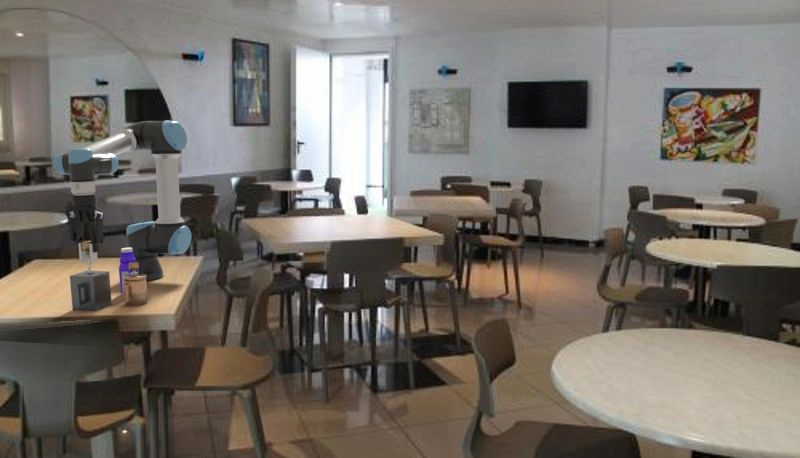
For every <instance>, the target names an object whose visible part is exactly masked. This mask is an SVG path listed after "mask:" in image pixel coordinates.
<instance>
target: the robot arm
mask: <svg viewBox="0 0 800 458" xmlns="http://www.w3.org/2000/svg"><path fill="white" fill-rule="evenodd" d="M187 144H188V136H187V133H186V130H185V128H184V126H183V125H182V124H181V123H180V122H178V121H175V120H168V119H167V120H145V121H144V120H143V121H140V122H136V123H133V124H130V125H128V126H126V127H123V128H120V129H118V130H117V132H116V133H115V134H113V135H110V136H108V137H105V138H104V139H102V140H99V141H96V142H94V143H92V144H90V145H86V146H84V147H82V148H71V149H69V150H68V153H66V152H63V153H59V154H56V155H55V157H54V158H53V162H52V163H53V168H54V170H55V171H56V172H57V174H60V175H66V176H70V190H71V191H70V192H71V194H72V195H71V203H72V204H71V205H72V207H73V209H72V211H69V212H66V213H65V215H66V218H67V220H68V228H69V235H70V241H71V242H75V243H76V251H77V253H78V254H79V255H78V256H79V263H83V262H86V261H87V252H86V251H82V241H85V239H84V237H85V235H84V234H85V224H86V225H87V230H88V233H89V237H90V241H91V242H90V244H89V246H90V263H95V262H98V253H99V249H100V248H99V242H102V241H104V217H105V212H100V211H98V209H97V208H96V206H97V198H96V194H95V193H96V184H95V183H96V182H95V176H101V175H111V174H114V173H116V172H117V171H118V169H119V165H120V164H119V159H118V157H117V156H119V155H121V154H123V153H132V152H134V151H145V150H146V151H147V150H148V151H150V154H151V156H152V157H153V158H154V159H155V175H156V176H155V177H156V194H157V195H156V196H157V212H158V213H157V215H158V216H157V217H158V218H157V219H156V220H155V221H154V220H153V221H152V220H151V221H145V222H139V223H134V224H130V225H127V227H126V235H125V237H126V246H127V247H126V248H132V249H133V255H134V257H135V259H136V260H135V262H138V265H139V269H138V274H145V275H146V277H147V278H146V282H147V281H153V280H157V279H158V280H159V279H161V278H163V277H164V270H163V268H162V264H161V262H160V260H159V256H158V254H160V255H161V254H162V255H163V254H165V255H181V254H184V253H185V252H187V250H188V249H189V247H190V245H191V241H192V232H191V230H190V229H191V228H189V227H188V226H187V225H185V224H186V223H185V222H186V221H185V220H184V219H183V217H182V216H181V201H180V197H181V196H180V181H179V180H180V178H179V160H178V159H179V158H180V156H181V155H182V151H183V150H184V149H185V148H186V145H187Z"/></svg>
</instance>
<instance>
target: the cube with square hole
mask: <svg viewBox="0 0 800 458" xmlns="http://www.w3.org/2000/svg"><path fill="white" fill-rule="evenodd" d="M69 283H70V293H71V308H72V311H86V312H89V311H90V312H97V311H99V310H102V309H104V308H107V307H109V306H111V305H112V304H113V303H112V294H111V293H112V291H111V279H110V271H107V270H91V274H88V270H84V271H81V272H77V273H75V274H72V275H69Z"/></svg>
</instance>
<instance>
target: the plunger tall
mask: <svg viewBox="0 0 800 458" xmlns="http://www.w3.org/2000/svg"><path fill="white" fill-rule="evenodd" d="M90 242H91V240H84V241H82V251H86V256H87V262H86V264H87V271H88V274H91V271H92V265H91V263H92V262H91V259H90V246H89V244H90Z"/></svg>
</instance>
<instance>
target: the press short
mask: <svg viewBox="0 0 800 458" xmlns="http://www.w3.org/2000/svg"><path fill="white" fill-rule="evenodd" d="M138 269H139V265H138V262H131V263H129V270H133V274H130V275H125V276H123V277H122V279H123V284H124V285H122V293H123V294H122V302H123V303H124V305H125V306H131V307H133V306H141V305H142V306H143V305H146V304H148V289H147V288H148V287H147V281H146V278H147V277H146V275H145V274H136V270H138Z"/></svg>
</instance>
